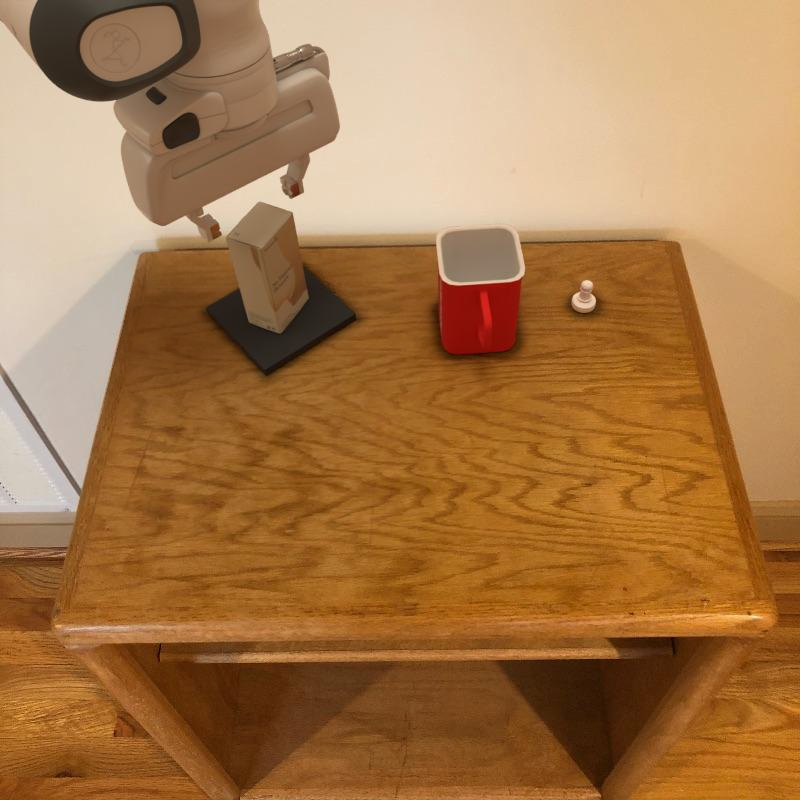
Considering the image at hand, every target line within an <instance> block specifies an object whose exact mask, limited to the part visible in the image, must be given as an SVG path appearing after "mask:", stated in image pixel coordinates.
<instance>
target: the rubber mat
mask: <svg viewBox="0 0 800 800" xmlns="http://www.w3.org/2000/svg"><path fill="white" fill-rule="evenodd" d="M303 270H304V275H305V280H306V286H307V291H308V296H309V299H308V300H307V302H306V303H305V304H304V306H303V307H302V308H301V310H300V311H299V312H298V314H297V315H296V316H295V318H294V319H293V320H292V321H291V323H290V324H289V325H288V326H287V327H286V328H285V330H284V331H283V332H282V333H281V334H279V333H276V332H273V331H270V330H267V329H264V328H262V327H259V326H257V325H254V324H251V323H249V320H248V317H247V313H246V310H245V306H244V302H243V299H242V295H241V291H240V288H236V289H235V290H234V291H232V292H229V293H228V294H226V295H224V296H223V297H221V298H220V299H218V300H216V301H214V302H212V303H211V304H208V306H206V307H205V309H206V312H207V314H208V316H210V317H211V318H212V319H213V320H214V321H215V322H216V323H217V325H219V327H220V328H221V329H222V330H223V331H224V332H225V333H226V335H228V336H229V337H230V338H231V340H233V342H234V343H235V344H236V345H237V346H238V347H239V348H240V349H241V351H243V352H244V353H245V354H246V356H247V357H248V358H249V359H250V360H251V361H252V362H253V363H254V364H255V365H256V366H257V367H258V368H259V370H261V371H262V373H263V374H264V375H265V376H268V375H270V374H271V373H273V372H274V371H277V370H278V369H279V368H281V367H283V366H284V365H286V364H288V363H289V362H290V361H292V360H294V359H295V358H297V357H298V356H300V355H302V354H304V353H305V352H306V351H308V350H310V349H311V348H313V347H314V346H316V345H318V344H319V343H321V342H322V341H325V340H327V338H329V337H330V336H332V335H334V334H335V333H337V332H339V331H340V330H342V329H344V328H345V327H346V326H348V325H350V324H352V323H353V322H355V321H356V320H357V314H356V312H355V311H353V309H352V308H350V307H349V306H348V305H347V304H346V303H345V302H344V301H343V300H341V298H339V297H338V296H337V295H336V294H335V293H334V292H333V291H332V290H330V288H328V287H327V286H326V285H325V284H324V283H323V282H322V281H321V280H320V279H318V277H316V276H315V275H314V274H313V273H312V272H311V271H309V269H308V268H306V267H305V266H304V265H303Z"/></svg>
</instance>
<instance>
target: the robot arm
mask: <svg viewBox="0 0 800 800" xmlns="http://www.w3.org/2000/svg"><path fill="white" fill-rule="evenodd" d="M0 21H1V23H2V24H4V26H5V27H6V29H7V30H8V31H9V32H10V33H11V34H12V36H13V37H14V38H15V40H16V41H17V42H18V43H19V45H20V46H21V47H22V49H23V50H24V51H25V53H26V54H27V56H29V57H30V59H31V60H32V61H33V62H34V64H35V65H36V66H37V67H38V68H39V70H41V72H42V73H43V74H44V75H45V77H46V78H47V79H48V80H49V81H50V82H51V83H52V84H53V85H55V87H57V88H58V89H60V90H61V91H63V92H65V93H66V94H68V95H70V96H72V97H75V98H78V99H81V100H84V101H88V102H89V101H90V102H99V103H103V102H113V101H114V103H113V113H114V116H115V118H116V119H117V122H118V123H119V124H120V125H121V127H122V128H123V129H124V130H125V133H124V134H123V136H122V139H121V144H120V156H121V162H122V167H123V171H124V175H125V180H126V183H127V186H128V189H129V192H130V195H131V199H132V201H133V203H134V205H135V207H136V208H137V209H138V211H139V212H140V213H141V214H142V215H143V216H144V217H145V218H146V219H147V220H148V221H149V222H151V223H153V224H155V225H158V226H160V227H166V226H168V225H170V224H172V223H174V222H176V221H178V220H179V219H180V220H181V219H182V218H184V217H186V218H187V219H188V220H189V221H190V222H191V223H193V224H195V225H196V227H197V231H198V233H199V234H200V236H201V237H202V239H203V240H204V241H206V243H210V242H212V241H214V240H217V239H218V238H220V237H222V235H223V234H222V231H221V227H220V223H219V221H218V220H217V219H216V218H214V217H213V216H212V215H211V214H210V213H207V214H205V212H204V208H203V207H205V206H208V205H209V204H212V203H213V202H216V201H218V200H219V199H221V198H222V199H223V197H225V196H227V195H230V194H232V193H233V192H236V191H237V190H239V189H241V188H243V187H246V186H247V185H249V184H251V183H253V182H256V181H258V180H260V179H261V178H263V177H265V176H267V175H269V174H271V173H273V172H275V171H278V170H279V169H281V168H283V167H285V166H287V170H286V173H285V174H284V175H282V176H280V177H279V180H280V184H281V190H282V192H283V194H284V195H285V196H288V198H289V199H290V200H292V199H294V198H296V197H298V196H300V195H303V194H304V193H305V187H304V182H303V180H304V178H305V176H306V173H307V171H308V168H309V165H310V163H311V157H310V154H311V153H313V152H315V151H318V150H319V149H321V148H323V147H325V146H327V145H329V144H331V143H333V142H334V141H335V140H336V138H337V137H338V134H339V132H340V129H341V122H340V117H339V112H338V106H337V103H336V98H335V95H334V92H333V89H332V85H331V83H330V77H331V76H330V75H331V71H330V63H329V56H328V55H327V53H326V51H325V50H324V49H323V48H322V47H319V46H315V45H312V44H311V43H305V44H302V45H299V46H297V47H296V48H295V49H294V50H291V51H288V52H284V53H282V54H278V55H276V56H274V57H273V50H272V44H271V39H270V33H269V31H268V29H267V26H266V24H265V22H264V20H263V18H262V15H261V11H260V0H0Z"/></svg>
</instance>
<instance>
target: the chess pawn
mask: <svg viewBox="0 0 800 800" xmlns="http://www.w3.org/2000/svg"><path fill="white" fill-rule="evenodd" d="M593 288H594V284H593V282H592V281H591V280H589V279H586V280H583V281H582V282H581V283H580V288H579V290H580V291H579V292H576V293H575V294H573V296H572V298H571V307H572V309H573V310H574V311H576V312H578V313H582V314H587V313H591V312H592V311H593V310H594V309H595V307H596V303H597V300H596V299H597V298H596V297H595V296H594V294H592V292H593Z"/></svg>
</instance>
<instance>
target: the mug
mask: <svg viewBox="0 0 800 800" xmlns="http://www.w3.org/2000/svg"><path fill="white" fill-rule="evenodd" d="M520 240H521V239H520V235H519V232H518V231H517V229H516V228H515V227H513V226H512V225H510V224H507V223H489V224H488V223H487V224H474V225H459V226H450V227H445V228H442V229H441V230H439V231H438V232H437V233H436V236H435V243H436V244H435V247H436V255H437V275H438V276H437V291H438V293H437V295H438V296H437V297H438V298H437V301H438V320H439V321H438V322H439V329H440V338H441V339H440V340H441V345H442V348H443V349H444V351H446V352H447V353H448V354H451V355H470V354H485V353H487V354H488V353H502V352H506V351H509V350H511V349H512V348H513V347H514V346H515V343H516V337H517V336H516V335H517V326H518V318H519V317H518V316H519V308H520V299H521V291H522V281H523V278H524V276H525V273H526V264H525V258H524V254H523V250H522V245H521V241H520Z"/></svg>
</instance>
